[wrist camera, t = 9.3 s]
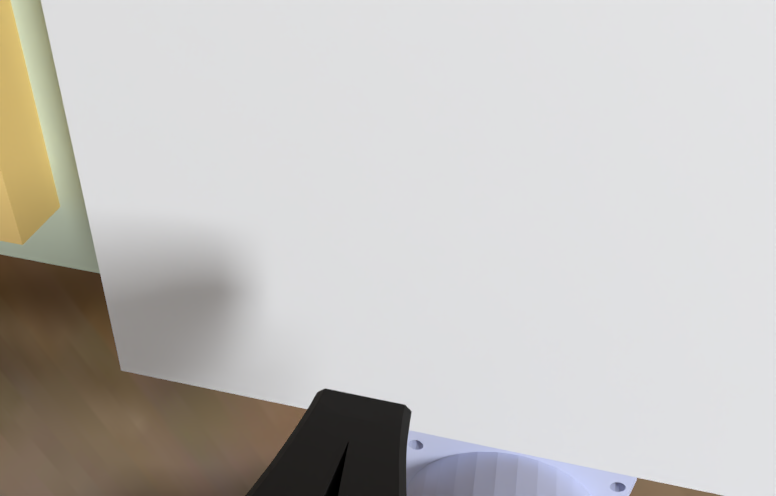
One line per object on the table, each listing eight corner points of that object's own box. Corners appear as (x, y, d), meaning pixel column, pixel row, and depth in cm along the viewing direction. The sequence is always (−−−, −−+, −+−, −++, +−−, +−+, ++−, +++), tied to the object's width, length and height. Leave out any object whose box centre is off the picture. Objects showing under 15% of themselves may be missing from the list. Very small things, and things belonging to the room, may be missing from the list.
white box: (883, 417, 22) (936, 539, 19) (179, 282, 24) (121, 370, 21) (1268, -87, 13) (1486, -18, 10) (113, -221, 15) (-2, -198, 12)
